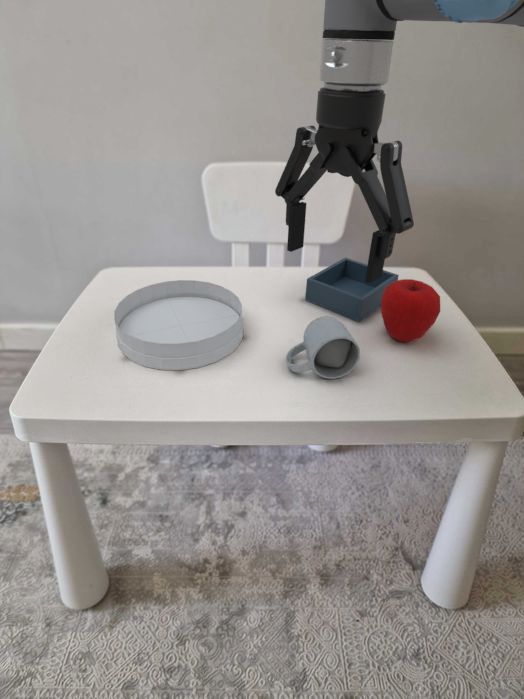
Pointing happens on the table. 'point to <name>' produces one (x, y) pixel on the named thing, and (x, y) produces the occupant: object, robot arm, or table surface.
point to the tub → (347, 289)
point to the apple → (409, 309)
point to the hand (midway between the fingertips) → (331, 263)
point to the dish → (179, 324)
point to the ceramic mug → (326, 349)
